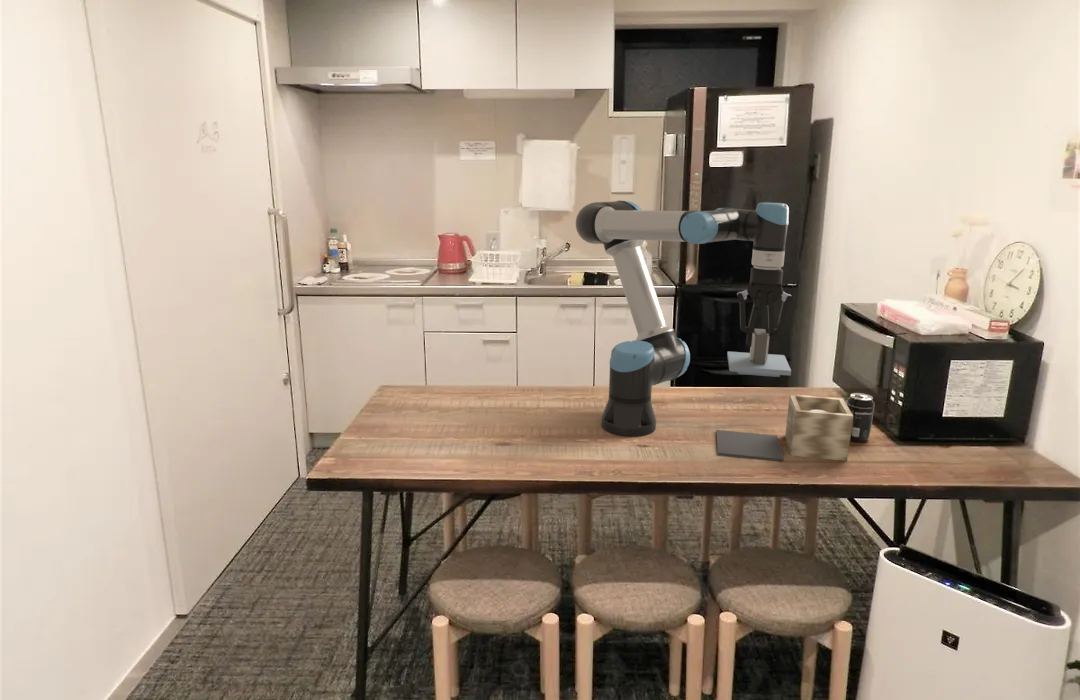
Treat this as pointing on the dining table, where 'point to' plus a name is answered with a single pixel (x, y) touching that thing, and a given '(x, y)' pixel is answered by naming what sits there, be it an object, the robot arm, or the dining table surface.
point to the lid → (759, 360)
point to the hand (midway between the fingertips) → (758, 359)
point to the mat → (749, 445)
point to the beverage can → (861, 415)
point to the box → (818, 427)
